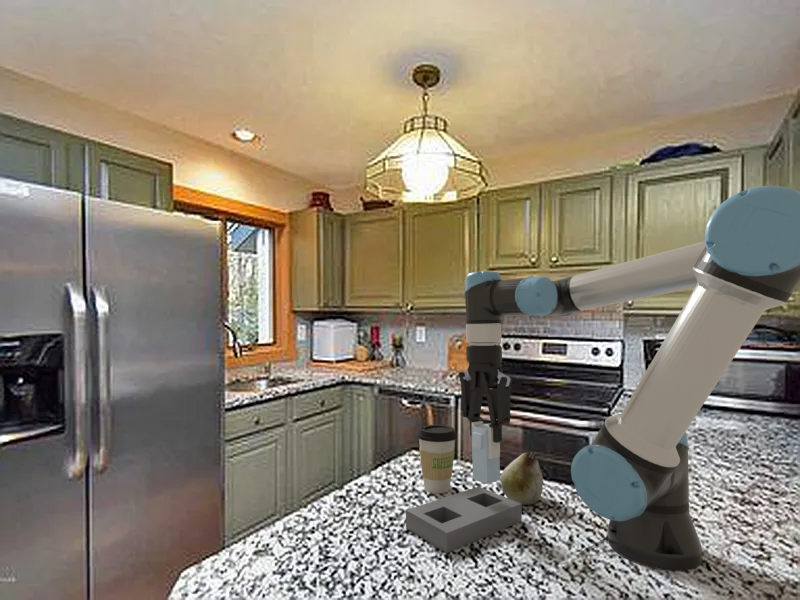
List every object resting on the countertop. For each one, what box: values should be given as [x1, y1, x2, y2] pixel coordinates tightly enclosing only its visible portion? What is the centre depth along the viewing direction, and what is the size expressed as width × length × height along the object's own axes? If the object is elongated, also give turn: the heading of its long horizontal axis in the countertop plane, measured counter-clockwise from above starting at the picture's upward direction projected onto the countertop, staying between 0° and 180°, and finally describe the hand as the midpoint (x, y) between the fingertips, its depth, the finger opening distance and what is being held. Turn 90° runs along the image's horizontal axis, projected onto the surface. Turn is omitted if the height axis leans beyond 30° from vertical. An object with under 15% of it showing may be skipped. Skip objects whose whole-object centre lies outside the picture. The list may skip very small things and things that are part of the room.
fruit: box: [500, 451, 544, 506], centre depth 104 cm, size 10×9×12 cm
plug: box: [471, 423, 501, 485], centre depth 95 cm, size 4×5×11 cm
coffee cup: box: [416, 424, 458, 494], centre depth 111 cm, size 10×10×15 cm
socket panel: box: [405, 486, 523, 554], centre depth 92 cm, size 12×21×4 cm, turn 127°
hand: (485, 454), depth 95 cm, fingers closed on plug, 4 cm apart
